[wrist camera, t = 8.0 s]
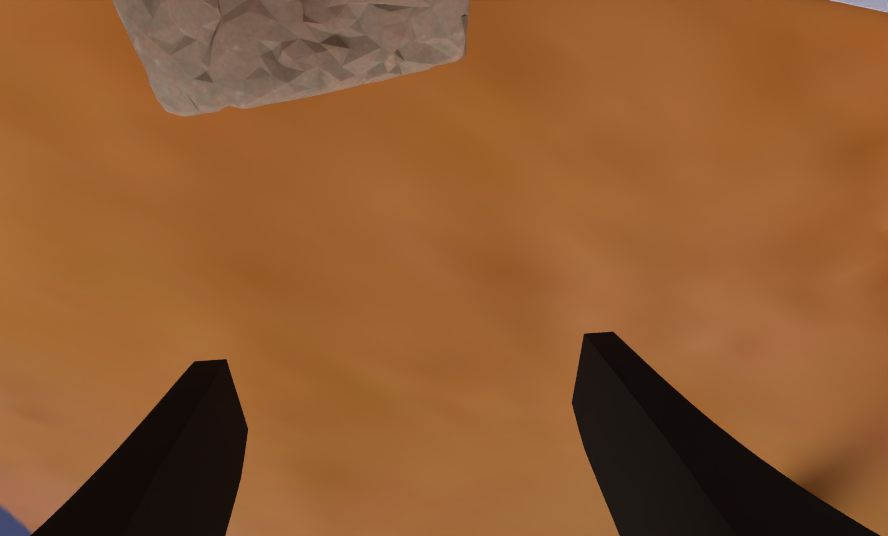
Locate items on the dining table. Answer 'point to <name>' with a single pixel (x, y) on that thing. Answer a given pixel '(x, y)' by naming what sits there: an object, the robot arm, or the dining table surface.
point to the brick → (285, 46)
